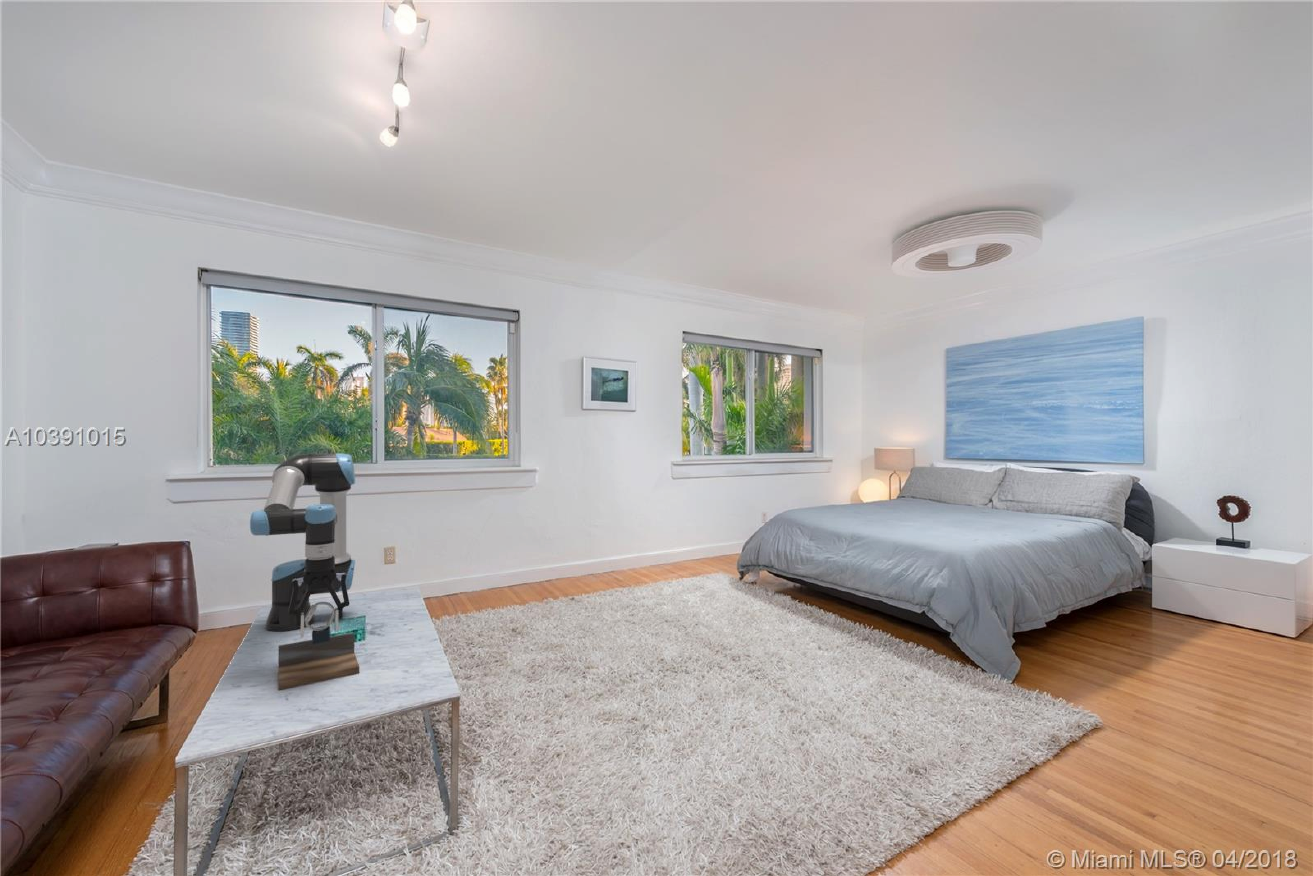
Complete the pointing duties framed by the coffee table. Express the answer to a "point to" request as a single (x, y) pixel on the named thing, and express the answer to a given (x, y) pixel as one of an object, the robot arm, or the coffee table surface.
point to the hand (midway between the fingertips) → (319, 633)
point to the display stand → (316, 661)
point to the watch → (320, 632)
